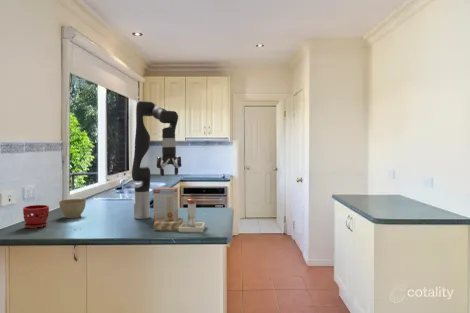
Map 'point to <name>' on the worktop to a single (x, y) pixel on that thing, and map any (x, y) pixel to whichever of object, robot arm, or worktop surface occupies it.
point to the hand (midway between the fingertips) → (169, 175)
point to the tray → (198, 228)
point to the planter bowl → (72, 207)
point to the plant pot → (36, 215)
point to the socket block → (168, 223)
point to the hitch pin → (191, 212)
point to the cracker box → (165, 203)
